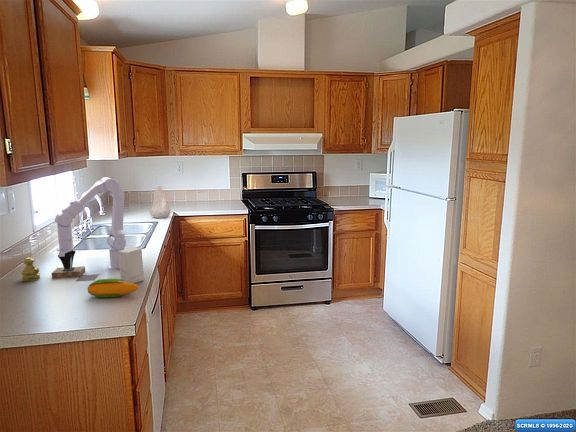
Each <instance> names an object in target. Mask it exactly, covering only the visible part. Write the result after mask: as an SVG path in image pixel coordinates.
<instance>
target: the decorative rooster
mask: <svg viewBox="0 0 576 432" xmlns="http://www.w3.org/2000/svg"><path fill="white" fill-rule="evenodd" d="M170 214H171V207H170V205H168V203H167V196H166V192H165V191H164V190H163V188H162V186H161V185H158V186H157V187H156V189H155V190H154V191H153V200H152V204H151V207H150V208H149V215H150V216H151V217H153V218H154V219H155V218H156V219H166V218H168V217H169V216H170ZM165 217H166V218H165Z"/></svg>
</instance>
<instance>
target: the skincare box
mask: <svg viewBox="0 0 576 432" xmlns="http://www.w3.org/2000/svg"><path fill="white" fill-rule="evenodd" d="M142 250H143V249H142V248H140V247H136V246H132V247H128V248H126V249H124V250H121V251H118V254H119V265H120V268H119V274H120V279H123V281H121V282H128V283H134V284H136V283H139V282H142V281H144V280H145V278H144V277H145V274H144V265H143V264H144V263H143V262H144V261H143V251H142Z"/></svg>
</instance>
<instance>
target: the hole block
mask: <svg viewBox="0 0 576 432" xmlns="http://www.w3.org/2000/svg"><path fill="white" fill-rule="evenodd" d="M72 269H73V271H65V269H64V267H57V268H56V269H54V270H53V271H52V272H51V279H71V278H73V279H74V278H79V277H81V276H82V275H85V273H86V266H72Z"/></svg>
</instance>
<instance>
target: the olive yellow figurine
mask: <svg viewBox="0 0 576 432" xmlns="http://www.w3.org/2000/svg"><path fill="white" fill-rule="evenodd" d="M35 262H36V259H35V258H34V257H32V258H31V257H27V258H24V259H23V260H22V262H21V263H23V264H24V266H25V267H23V268H22V269H21V270H20V274H21V276H20V278H21V281H22V282H25V283H29V282H34V281H38V280H40V278H41V273H40V268H39V267H37V266H35V265H34V263H35Z"/></svg>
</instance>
